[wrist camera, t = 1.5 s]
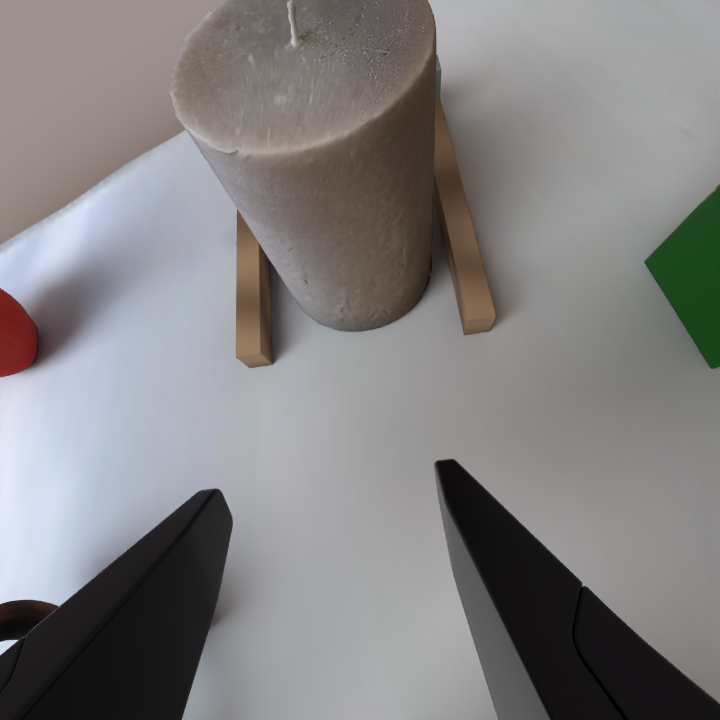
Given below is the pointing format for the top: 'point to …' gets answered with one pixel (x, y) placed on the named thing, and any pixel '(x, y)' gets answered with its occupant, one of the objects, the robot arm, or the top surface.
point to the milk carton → (694, 275)
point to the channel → (457, 241)
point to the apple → (15, 336)
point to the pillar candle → (323, 143)
